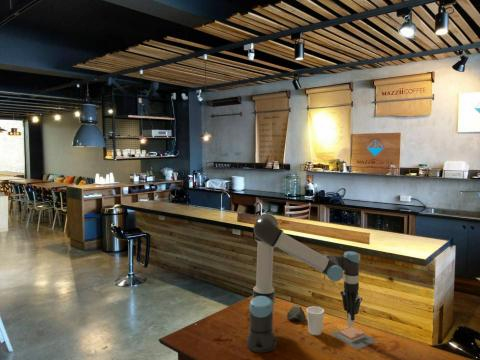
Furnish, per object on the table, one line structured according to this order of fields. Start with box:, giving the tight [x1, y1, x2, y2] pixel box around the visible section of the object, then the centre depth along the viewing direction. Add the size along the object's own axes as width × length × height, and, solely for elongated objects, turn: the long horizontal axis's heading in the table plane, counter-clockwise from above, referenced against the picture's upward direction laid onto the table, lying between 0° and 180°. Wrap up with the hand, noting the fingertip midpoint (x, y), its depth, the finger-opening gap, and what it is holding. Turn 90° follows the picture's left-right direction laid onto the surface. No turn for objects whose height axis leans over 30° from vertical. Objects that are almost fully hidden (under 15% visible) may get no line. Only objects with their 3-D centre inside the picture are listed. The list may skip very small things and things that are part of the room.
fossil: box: [286, 303, 307, 322], centre depth 219 cm, size 11×9×10 cm
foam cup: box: [305, 306, 325, 336], centre depth 200 cm, size 10×9×13 cm
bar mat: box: [330, 326, 378, 350], centre depth 195 cm, size 15×18×1 cm
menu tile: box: [338, 326, 365, 342], centre depth 196 cm, size 10×2×8 cm
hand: (350, 325), depth 196 cm, fingers closed
